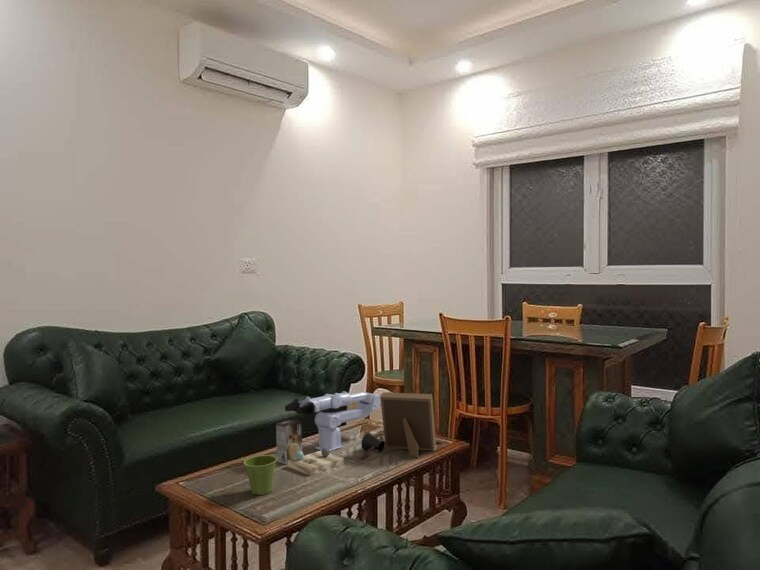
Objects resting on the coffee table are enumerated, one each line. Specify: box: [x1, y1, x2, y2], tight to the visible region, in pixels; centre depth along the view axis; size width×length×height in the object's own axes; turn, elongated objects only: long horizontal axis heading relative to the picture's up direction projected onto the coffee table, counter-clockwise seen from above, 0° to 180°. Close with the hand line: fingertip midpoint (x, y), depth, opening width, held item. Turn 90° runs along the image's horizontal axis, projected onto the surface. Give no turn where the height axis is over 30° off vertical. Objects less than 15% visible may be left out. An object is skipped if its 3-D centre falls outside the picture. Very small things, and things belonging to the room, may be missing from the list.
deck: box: [287, 450, 345, 477], centre depth 226 cm, size 17×15×2 cm
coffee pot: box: [356, 432, 385, 461], centre depth 239 cm, size 8×18×8 cm
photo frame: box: [380, 391, 437, 458], centre depth 240 cm, size 15×22×25 cm
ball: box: [320, 448, 331, 457], centre depth 229 cm, size 3×3×3 cm
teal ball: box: [295, 451, 305, 460], centre depth 226 cm, size 3×3×3 cm
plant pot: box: [243, 454, 277, 496], centre depth 200 cm, size 12×12×11 cm
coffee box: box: [275, 418, 304, 465], centre depth 233 cm, size 9×6×16 cm
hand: (291, 409), depth 233 cm, fingers open, 7 cm apart
